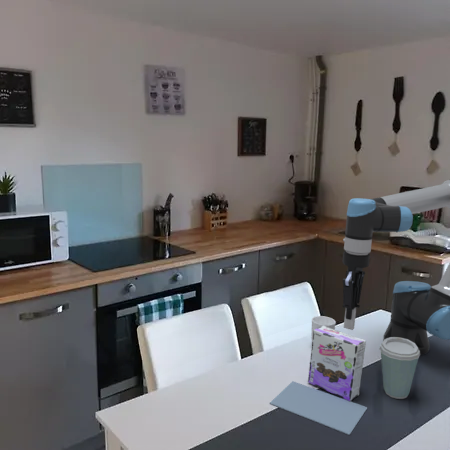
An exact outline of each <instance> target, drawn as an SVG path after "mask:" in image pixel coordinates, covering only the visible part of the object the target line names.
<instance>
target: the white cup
mask: <svg viewBox="0 0 450 450" xmlns="http://www.w3.org/2000/svg"><path fill="white" fill-rule="evenodd" d="M321 326H326V327H328V328H331V329H334V330H336V320H335V319H333V318H332V317H328V316H323V315H317V316H314V317H312V318H311V341H312V340H313V331H314V330H315V329H317V328H319V327H321Z"/></svg>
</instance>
